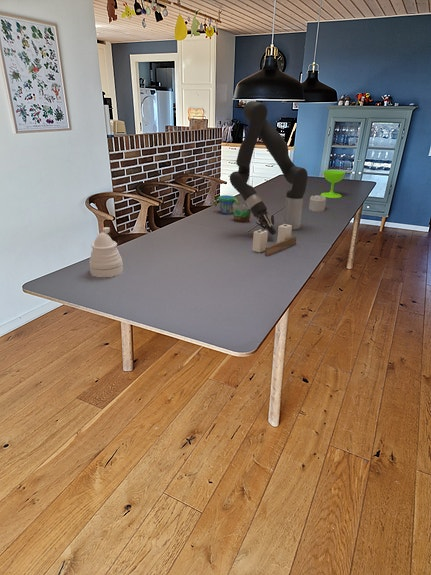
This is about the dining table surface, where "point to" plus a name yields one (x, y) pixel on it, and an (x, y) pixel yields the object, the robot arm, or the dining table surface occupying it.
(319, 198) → the lumpy-topped squat cylinder
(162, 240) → the dining table surface
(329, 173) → the wineglass
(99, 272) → the honey pot
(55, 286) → the dining table surface
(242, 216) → the food container
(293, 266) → the dining table surface
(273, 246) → the console
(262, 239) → the key two
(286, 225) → the key one
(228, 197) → the snack cup
